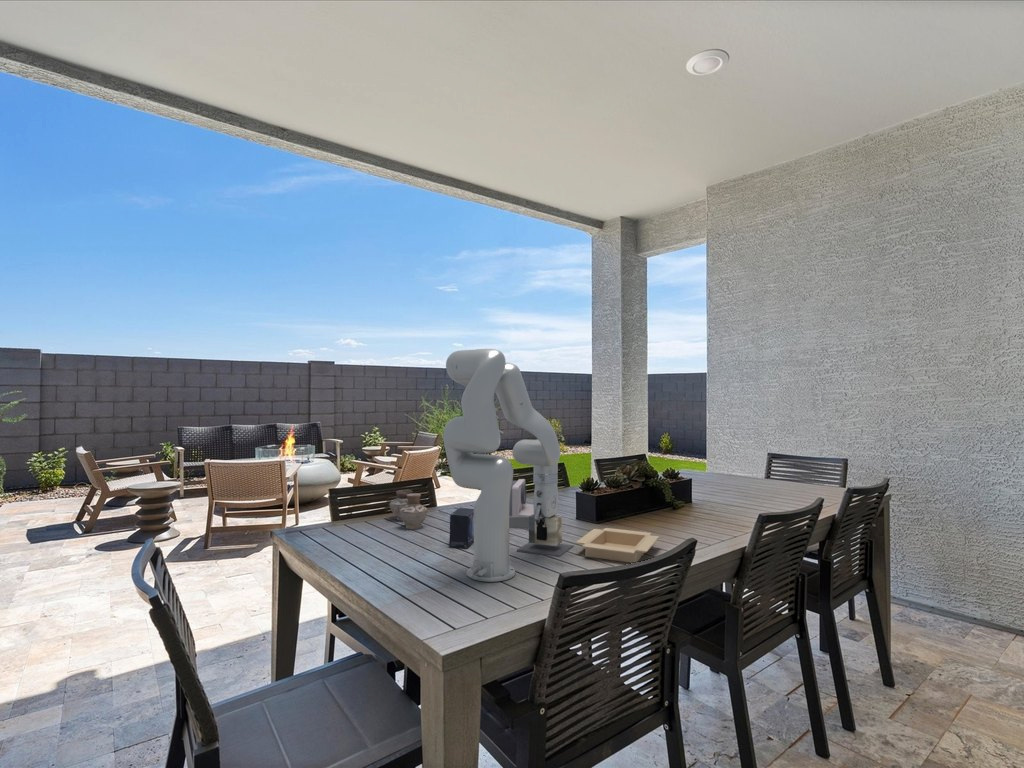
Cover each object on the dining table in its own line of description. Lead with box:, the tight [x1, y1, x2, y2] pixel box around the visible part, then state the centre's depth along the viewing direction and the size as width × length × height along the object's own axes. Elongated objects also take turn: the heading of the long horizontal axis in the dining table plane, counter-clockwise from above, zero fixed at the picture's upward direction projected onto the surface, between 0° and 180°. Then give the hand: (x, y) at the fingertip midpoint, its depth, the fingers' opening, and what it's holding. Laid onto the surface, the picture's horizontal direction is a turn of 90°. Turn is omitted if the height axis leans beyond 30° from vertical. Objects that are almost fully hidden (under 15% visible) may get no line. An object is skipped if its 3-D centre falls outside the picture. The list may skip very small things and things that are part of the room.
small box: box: [448, 507, 474, 549], centre depth 172 cm, size 11×6×10 cm, turn 168°
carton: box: [575, 527, 660, 564], centre depth 163 cm, size 24×21×4 cm
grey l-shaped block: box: [509, 478, 534, 530], centre depth 203 cm, size 21×21×15 cm
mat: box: [516, 542, 575, 558], centre depth 166 cm, size 12×14×1 cm
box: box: [528, 514, 563, 546], centre depth 166 cm, size 5×9×8 cm, turn 64°
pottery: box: [389, 489, 428, 530], centre depth 200 cm, size 11×25×12 cm, turn 25°
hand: (545, 537), depth 166 cm, fingers closed on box, 4 cm apart
